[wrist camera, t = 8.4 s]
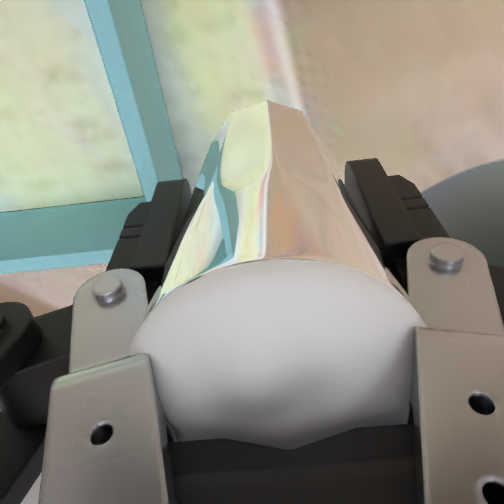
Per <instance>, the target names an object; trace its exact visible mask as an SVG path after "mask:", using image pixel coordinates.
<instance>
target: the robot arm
mask: <svg viewBox="0 0 504 504" xmlns="http://www.w3.org/2000/svg"><path fill="white" fill-rule="evenodd" d="M345 188H346V190H347V192H348V194H349V196H350V197H351V199H352V201H353V203H354V205H355V207H356V209H357V211H358V213H359V215H360V217H361V218H362V220H363V221H364V222H365V224H366V225H367V227H368V228H369V230H370V232H371V233H372V235H373V237H374V238H375V240H376V242H377V243H378V245H379V247H380V248H381V250H382V252H383V253H384V255H385V257H386V258H387V260H388V262H389V264H390V265H391V267H392V269H393V270H394V272H395V274H396V275H397V277H398V279H399V281H400V282H401V284H402V286H403V287H404V289H405V291H406V292H407V294H408V296H409V298H410V299H411V301H412V303H413V304H414V306H415V308H416V310H417V311H418V313H419V315H420V316H421V318H422V319H423V321H424V323H425V325H426V326H427V327H419V326H414V340H413V360H412V376H411V387H410V396H409V415H408V421H407V424H399V425H386V426H373V427H361V428H354V429H351V430H348V431H345V432H342V433H339V434H336V435H334V436H331V437H328V438H325V439H322V440H319V441H316V442H313V443H310V444H308V445H305V446H302V447H299V448H295V449H280V448H275V447H270V446H264V445H259V444H253V443H248V442H242V441H237V440H231V439H226V438H219V439H206V440H193V441H180V442H179V441H178V439H177V436H176V433H175V431H174V429H173V426H172V425H171V423H170V422H169V421H168V419H167V417H166V415H165V413H164V410H163V407H162V404H161V400H160V397H159V393H158V389H157V385H156V381H155V377H154V372H153V368H152V364H151V359H150V355H149V354H147V353H137V354H133V355H130V356H128V353H129V349H130V346H131V344H132V341H133V339H134V337H135V335H136V333H137V332H138V330H139V327H140V325H141V322H142V320H143V318H144V315H145V313H146V310H147V308H148V306H149V303H150V301H151V298H152V296H153V294H154V291H155V289H156V286H157V284H158V282H159V279H160V277H161V274H162V272H163V270H164V267H165V265H166V262H167V260H168V258H169V255H170V253H171V250H172V248H173V246H174V243H175V241H176V238H177V236H178V233H179V231H180V228H181V225H182V222H183V219H184V217H185V214H186V211H187V208H188V205H189V203H190V200H191V197H192V195H191V190H190V186H189V183H188V181H187V179H179V180H169V181H160V182H157V185H156V188H155V191H154V194H153V197H152V200H151V201H150V202H141V203H139V204H138V205H137V206H136V207H135V208H134V209H133V210H132V211H131V212H130V213H129V214H128V215H127V218H126V221H125V223H124V226H123V229H122V231H121V233H120V236H119V240H118V241H117V243H116V246H115V249H114V251H113V254H112V256H111V259H110V261H109V264H108V266H107V269H106V271H105V272H102V273H100V274H98V275H96V276H94V277H92V278H90V279H89V280H87V281H86V282H85V283H84V284H83V285H82V286H81V287H80V288H79V289H78V291H77V292H76V294H75V296H74V300H73V305H71V306H68V307H65V308H63V309H59V310H56V311H53V312H50V313H47V314H44V315H41V316H38V317H35V318H34V316H33V315H32V313H31V311H30V310H29V308H28V307H27V306H26V305H24V304H22V303H19V302H5V303H0V409H1V410H2V411H1V412H0V504H20V503H21V502H22V500H23V499H24V497H25V496H26V494H27V493H28V491H29V490H30V488H31V487H32V485H33V484H34V482H35V481H36V479H37V478H38V476H39V475H40V473H41V472H42V475H41V484H40V494H39V504H504V267H500V266H494V265H490V264H487V261H486V258H485V257H484V255H483V254H482V253H481V252H480V251H479V250H478V249H476V248H475V247H474V246H472V245H470V244H468V243H466V242H463V241H460V240H457V239H452V238H450V237H449V236H448V234H447V233H446V231H445V230H444V228H443V226H442V225H441V223H440V222H439V220H438V219H437V217H436V216H435V214H434V213H433V211H432V210H431V208H429V207H428V204H427V202H426V201H425V199H424V198H422V195H421V193H420V192H419V190H418V189H417V187H416V186H415V184H413V183H412V182H410V181H408V180H407V179H405V178H403V177H402V176H400V175H395V176H387V174H386V173H385V171H384V169H383V167H382V166H381V164H380V162H379V161H378V159H377V158H373V159H363V160H354V161H347V162H346V165H345Z"/></svg>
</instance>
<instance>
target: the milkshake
mask: <svg viewBox="0 0 504 504" xmlns="http://www.w3.org/2000/svg"><path fill="white" fill-rule="evenodd" d="M414 326H419V327H427V326H426V325H425V323H424V321H423V319H422V318H421V316H420V315H419V313H418V311H417V310H416V308H415V306H414V304H413V303H412V301H411V299H410V298H409V296H408V294H407V292H406V291H405V289H404V287H403V286H402V284H401V282H400V281H399V279H398V277H397V275H396V274H395V272H394V270H393V269H392V267H391V265H390V264H389V262H388V260H387V258H386V257H385V255H384V253H383V252H382V250H381V248H380V247H379V245H378V243H377V242H376V240H375V238H374V237H373V235H372V233H371V232H370V230H369V228H368V227H367V225H366V224H365V222H364V221H363V220H362V218H361V217H360V215H359V213H358V211H357V209H356V207H355V205H354V203H353V201H352V199H351V197H350V196H349V194H348V192H347V190H346V188H345V186H344V184H343V182H342V180H341V178H340V176H339V174H338V172H337V170H336V168H335V166H334V164H333V163H332V161H331V159H330V157H329V155H328V153H327V151H326V149H325V147H324V145H323V143H322V141H321V140H320V138H319V137H318V135H317V134H316V132H315V131H314V129H313V128H312V126H311V125H310V123H309V122H308V120H307V119H306V117H305V115H304V114H303V112H302V111H300V110H297V109H293V108H290V107H287V106H284V105H281V104H278V103H275V102H272V101H269V100H265V101H262V102H259V103H256V104H253V105H250V106H247V107H244V108H241V109H238V110H235V111H232V113H231V114H230V116H229V117H228V118H227V120H226V121H225V123H224V124H223V126H222V127H221V128H220V130H219V131H218V133H217V134H216V136H215V137H214V138H213V140H212V142H211V145H210V147H209V150H208V153H207V156H206V158H205V161H204V164H203V167H202V169H201V172H200V175H199V178H198V180H197V183H196V186H195V189H194V192H193V194H192V197H191V200H190V203H189V205H188V208H187V211H186V214H185V217H184V219H183V222H182V225H181V228H180V231H179V233H178V236H177V238H176V241H175V243H174V246H173V248H172V250H171V253H170V255H169V258H168V260H167V262H166V265H165V267H164V270H163V272H162V274H161V277H160V279H159V282H158V284H157V286H156V289H155V291H154V294H153V296H152V298H151V301H150V303H149V306H148V308H147V310H146V313H145V315H144V318H143V320H142V322H141V325H140V327H139V330H138V332H137V333H136V335H135V337H134V339H133V341H132V344H131V346H130V349H129V353H128V356H130V355H133V354H137V353H147V354H149V355H150V359H151V364H152V368H153V372H154V377H155V381H156V385H157V389H158V393H159V397H160V400H161V404H162V407H163V410H164V413H165V415H166V417H167V419H168V421H169V422H170V423H171V425H172V426H173V429H174V431H175V433H176V436H177V439H178V441H179V442H180V441H193V440H206V439H219V438H226V439H231V440H237V441H242V442H248V443H253V444H259V445H264V446H270V447H275V448H280V449H295V448H299V447H302V446H305V445H308V444H310V443H313V442H316V441H319V440H322V439H325V438H328V437H331V436H334V435H336V434H339V433H342V432H345V431H348V430H351V429H354V428H361V427H373V426H386V425H399V424H407V421H408V415H409V396H410V387H411V376H412V360H413V340H414Z"/></svg>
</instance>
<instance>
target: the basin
mask: <svg viewBox="0 0 504 504" xmlns="http://www.w3.org/2000/svg"><path fill="white" fill-rule="evenodd" d="M84 1H85V5H86V8H87V11H88V14H89V18H90V21H91V24H92V27H93V31H94V34H95V37H96V40H97V43H98V47H99V50H100V53H101V56H102V60H103V63H104V66H105V69H106V73H107V76H108V79H109V82H110V86H111V89H112V92H113V95H114V99H115V102H116V105H117V108H118V112H119V115H120V118H121V121H122V125H123V128H124V131H125V134H126V138H127V141H128V144H129V147H130V151H131V154H132V157H133V160H134V164H135V167H136V170H137V173H138V177H139V180H140V183H141V186H142V190H143V193H144V196H145V197H137V198H128V199H119V200H110V201H101V202H92V203H83V204H75V205H66V206H57V207H48V208H39V209H30V210H21V211H12V212H3V213H0V274H6V273H15V272H25V271H35V270H44V269H54V268H64V267H73V266H83V265H93V264H102V263H109V261H110V259H111V256H112V254H113V251H114V249H115V246H116V243H117V241H118V240H119V236H120V233H121V231H122V229H123V226H124V223H125V221H126V218H127V215H128V214H129V213H130V212H131V211H132V210H133V209H134V208H135V207H136V206H137V205H138V204H139V203H141V202H150V201H151V200H152V197H153V194H154V191H155V188H156V185H157V182H160V181H169V180H179V179H183V178H182V174H181V169H180V165H179V161H178V157H177V153H176V148H175V144H174V140H173V136H172V132H171V127H170V123H169V119H168V115H167V111H166V107H165V102H164V98H163V94H162V90H161V86H160V81H159V77H158V73H157V69H156V65H155V60H154V56H153V52H152V48H151V44H150V39H149V35H148V31H147V27H146V23H145V18H144V14H143V10H142V6H141V2H140V0H84Z"/></svg>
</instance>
